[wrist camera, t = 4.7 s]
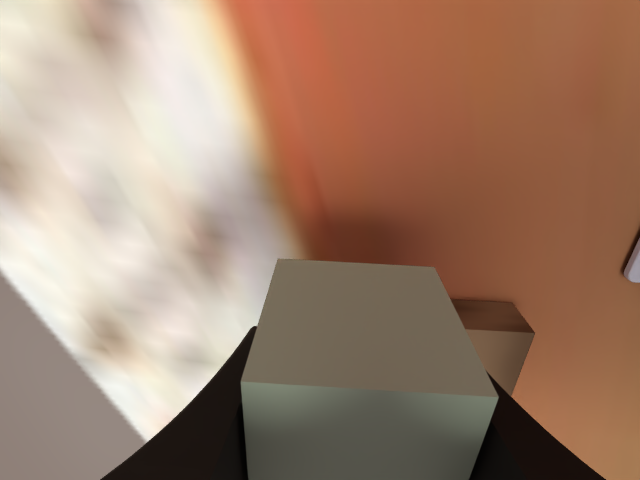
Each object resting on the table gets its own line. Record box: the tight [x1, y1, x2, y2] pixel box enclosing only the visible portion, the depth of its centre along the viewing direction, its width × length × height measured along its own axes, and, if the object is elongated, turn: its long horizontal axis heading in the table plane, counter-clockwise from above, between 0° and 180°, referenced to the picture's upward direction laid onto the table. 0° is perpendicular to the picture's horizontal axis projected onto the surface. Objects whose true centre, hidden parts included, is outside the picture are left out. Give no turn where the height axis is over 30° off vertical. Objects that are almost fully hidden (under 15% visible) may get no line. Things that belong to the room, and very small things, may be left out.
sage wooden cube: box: [241, 259, 499, 480], centre depth 10 cm, size 5×5×5 cm
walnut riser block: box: [450, 299, 535, 396], centre depth 22 cm, size 12×12×3 cm
